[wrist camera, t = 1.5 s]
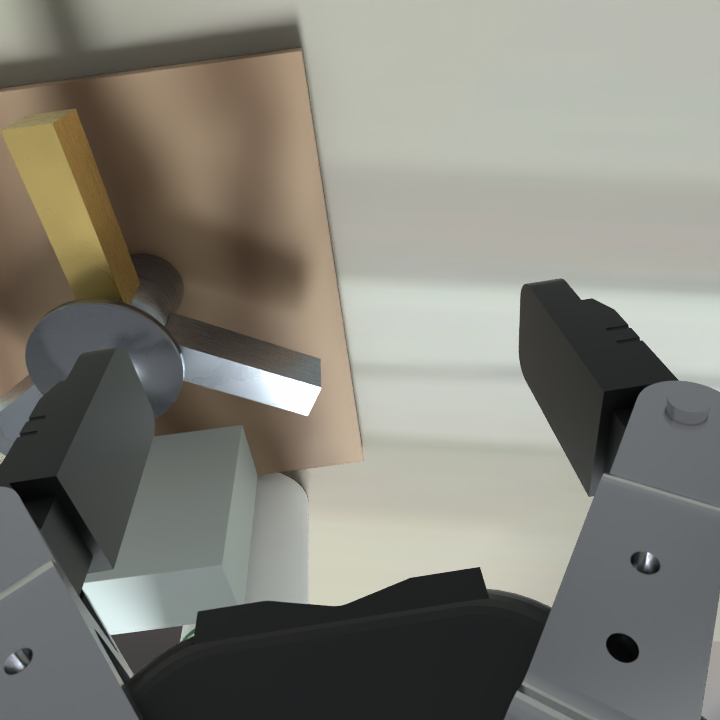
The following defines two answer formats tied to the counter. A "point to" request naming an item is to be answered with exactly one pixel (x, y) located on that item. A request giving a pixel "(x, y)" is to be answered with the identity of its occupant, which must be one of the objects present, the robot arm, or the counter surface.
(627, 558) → the robot arm
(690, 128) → the counter surface
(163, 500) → the stand
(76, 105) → the walnut board
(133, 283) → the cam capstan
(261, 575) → the cylindrical container
